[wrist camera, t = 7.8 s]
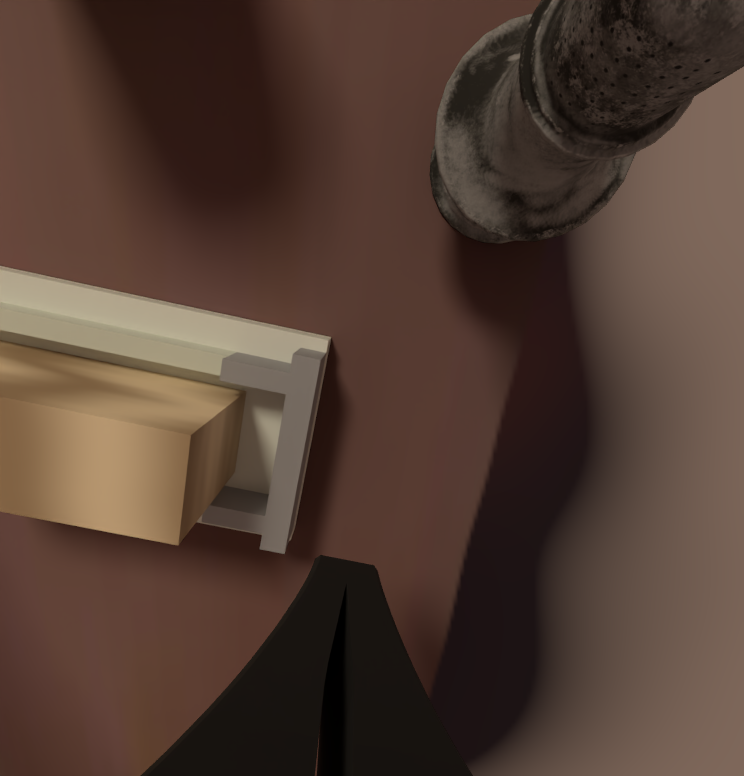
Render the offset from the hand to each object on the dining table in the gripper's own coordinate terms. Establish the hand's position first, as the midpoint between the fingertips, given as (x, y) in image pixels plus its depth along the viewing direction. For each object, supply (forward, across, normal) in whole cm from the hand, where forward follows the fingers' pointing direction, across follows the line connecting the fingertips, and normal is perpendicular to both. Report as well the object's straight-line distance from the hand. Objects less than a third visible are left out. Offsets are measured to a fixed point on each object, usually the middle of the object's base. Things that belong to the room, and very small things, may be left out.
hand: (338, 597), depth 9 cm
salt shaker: (+9, -3, -12) cm, 15 cm away
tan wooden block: (+8, +10, 0) cm, 13 cm away
